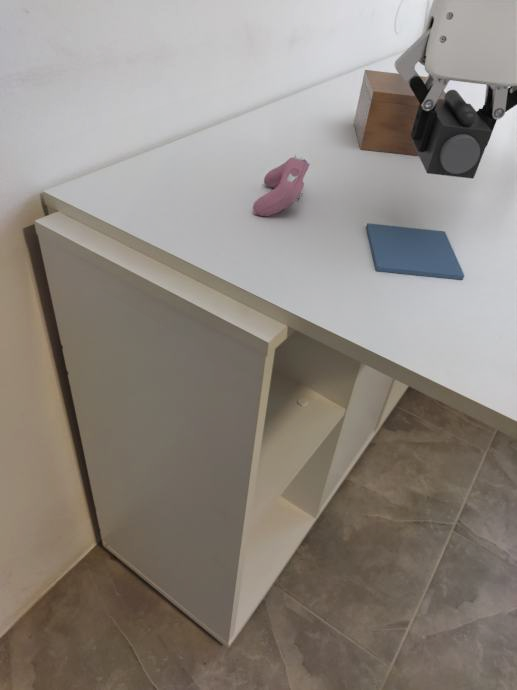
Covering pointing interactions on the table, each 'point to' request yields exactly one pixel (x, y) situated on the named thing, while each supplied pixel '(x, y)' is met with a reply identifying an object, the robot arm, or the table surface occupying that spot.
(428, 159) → the dark grey boxy piece
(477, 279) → the table surface
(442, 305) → the table surface
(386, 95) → the wooden block
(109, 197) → the table surface
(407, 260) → the felt pad
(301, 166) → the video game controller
